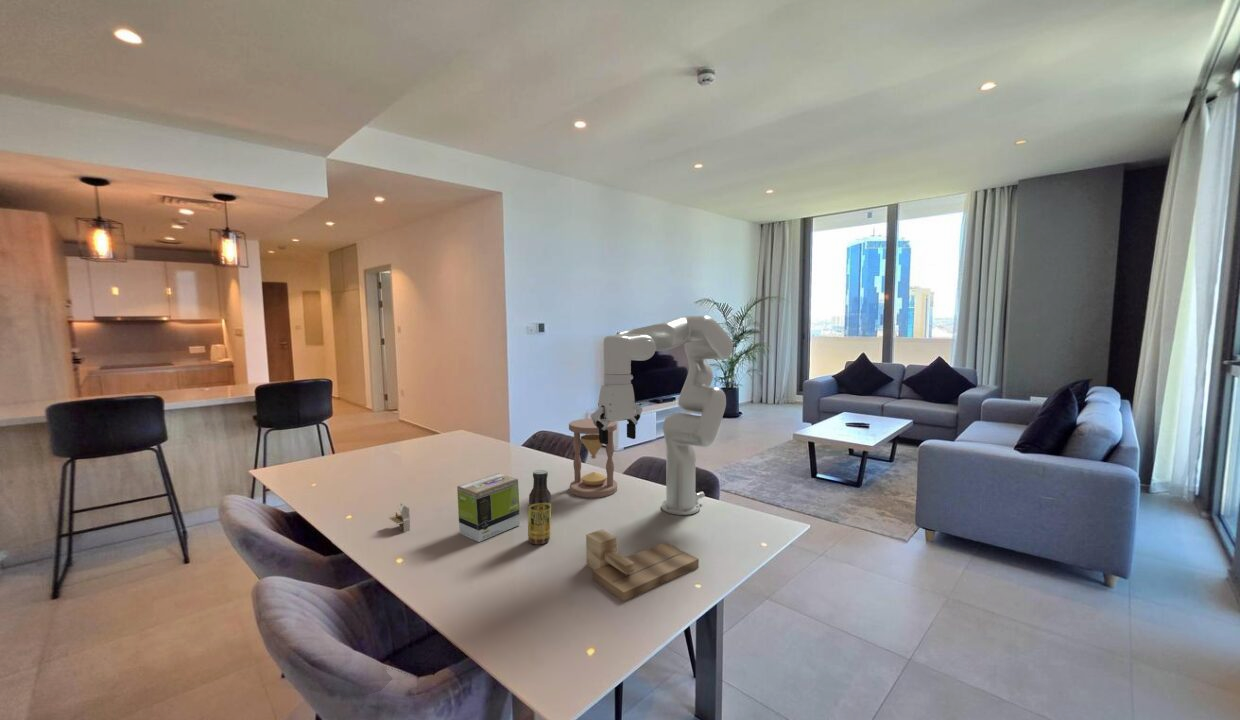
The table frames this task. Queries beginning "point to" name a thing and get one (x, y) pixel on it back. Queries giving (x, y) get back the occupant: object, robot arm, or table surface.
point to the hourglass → (593, 482)
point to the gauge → (605, 552)
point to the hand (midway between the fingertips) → (617, 440)
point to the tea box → (488, 506)
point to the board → (646, 571)
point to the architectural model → (402, 518)
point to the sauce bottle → (539, 509)
